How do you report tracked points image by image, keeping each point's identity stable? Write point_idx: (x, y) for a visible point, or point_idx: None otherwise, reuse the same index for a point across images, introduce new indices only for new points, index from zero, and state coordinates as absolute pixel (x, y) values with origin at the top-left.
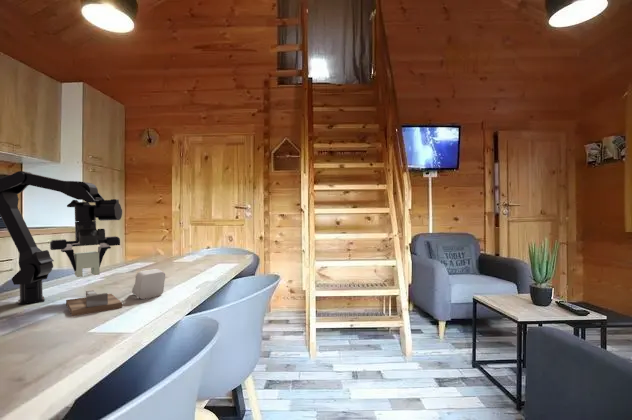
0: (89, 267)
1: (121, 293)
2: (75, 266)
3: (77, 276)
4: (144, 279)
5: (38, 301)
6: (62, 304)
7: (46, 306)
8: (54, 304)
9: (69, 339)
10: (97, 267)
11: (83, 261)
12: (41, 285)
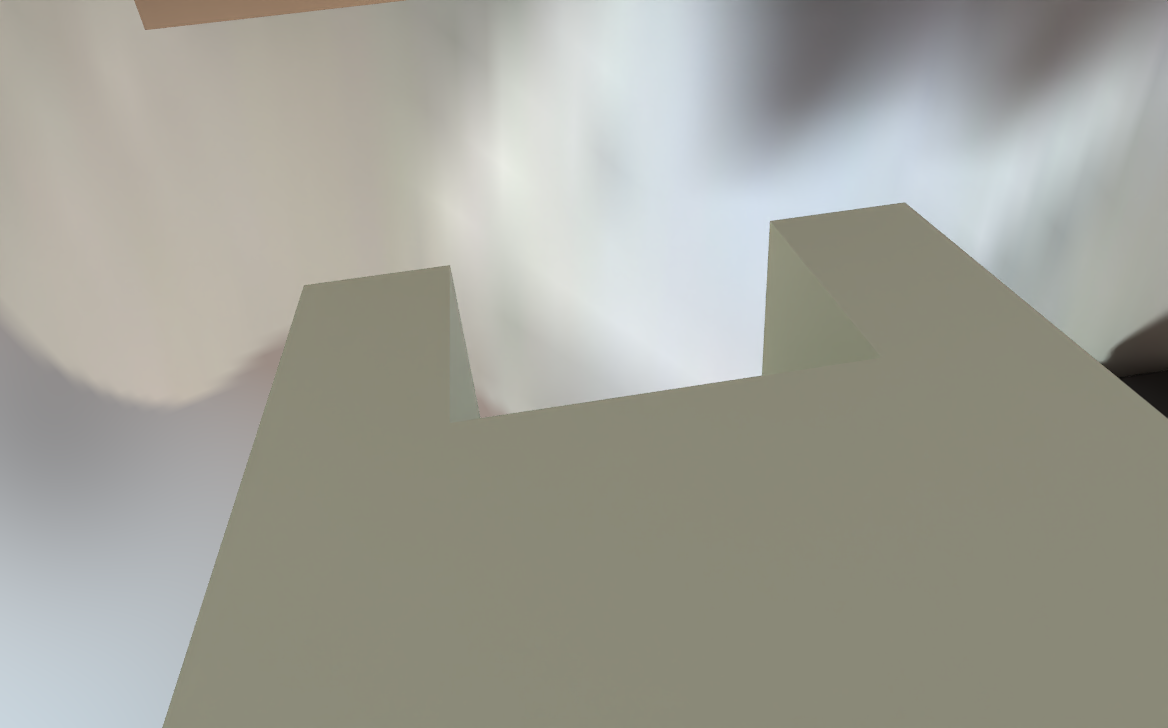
0: (633, 400)
1: (75, 341)
2: None
3: (910, 211)
4: None
5: None
6: (907, 41)
7: (1094, 48)
8: (982, 126)
9: None
10: (329, 428)
11: (1003, 601)
12: None
